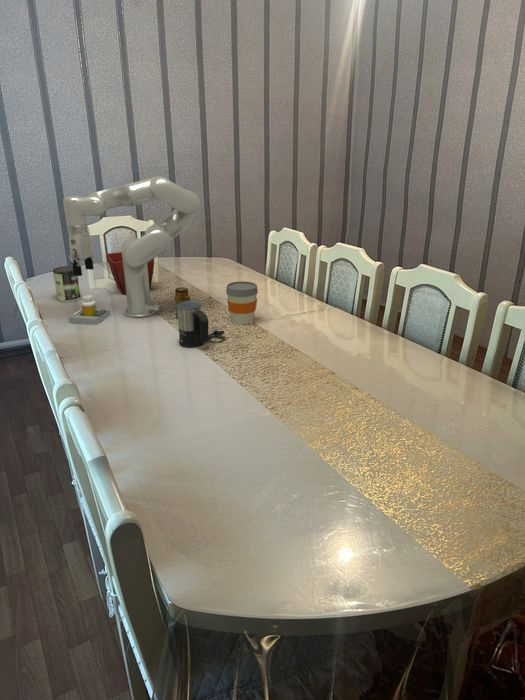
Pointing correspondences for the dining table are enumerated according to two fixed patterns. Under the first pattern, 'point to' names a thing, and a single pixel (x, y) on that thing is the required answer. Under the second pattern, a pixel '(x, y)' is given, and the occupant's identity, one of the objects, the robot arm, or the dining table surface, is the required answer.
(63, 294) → the coffee can
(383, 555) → the dining table surface
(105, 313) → the dock
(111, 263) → the plant pot
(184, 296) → the condiment
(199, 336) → the milk frother
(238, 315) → the reusable coffee cup
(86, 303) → the supplement bottle
